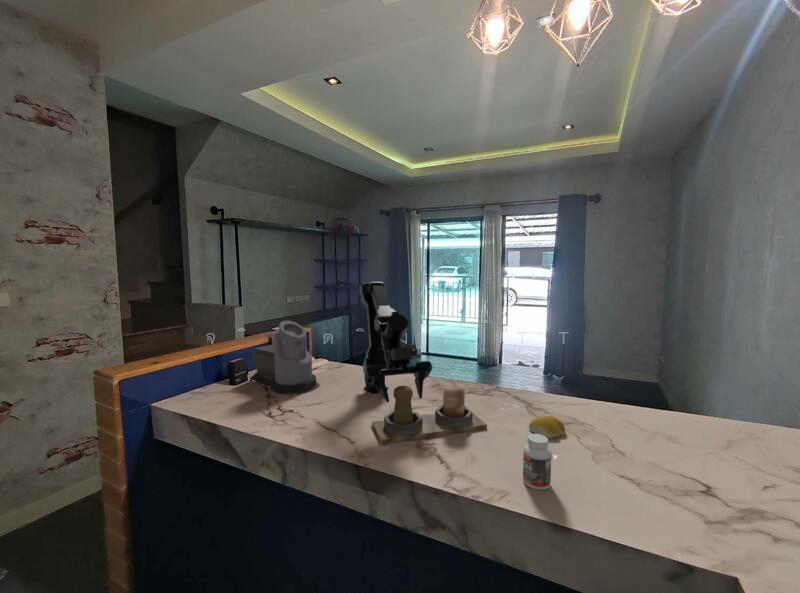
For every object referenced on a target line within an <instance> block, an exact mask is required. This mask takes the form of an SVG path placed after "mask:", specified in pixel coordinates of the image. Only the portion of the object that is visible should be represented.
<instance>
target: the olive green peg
mask: <svg viewBox="0 0 800 593" xmlns="http://www.w3.org/2000/svg"><path fill="white" fill-rule="evenodd" d="M413 394H414V392H413V390H412V388H411V387H410V386H408V385H399V386H396V387H395V388H394V389H393V397H394V398H393V399H395V401H394V408H393V409H394V410H393V411H394V416H393V423H396V424H400V425H404V424H411V423H414V421H413V414H412V412H413V408H412V400H411V399H412V398H413Z"/></svg>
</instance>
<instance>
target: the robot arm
mask: <svg viewBox="0 0 800 593" xmlns="http://www.w3.org/2000/svg"><path fill="white" fill-rule="evenodd" d="M358 292H359V296H361V301H362V303H363V305H364V306H365V307H366V319H367V331H368V332H367V333H368V343H369V346H368V349H367V351H366V352H365V357H364V359H363V360H364V361H363V363H362V372H363V373H364V374H363V376H364V378H363V379H364V383H365V386H364V387H363V390H366V391H368V392H370V393H373V394H376V393H379V394H380V395H381V396H382V398H383V399H384V400H385V402H386V403H389V402H390V398H389V393H388V389H389V387H388V386H386V377H388V376H389V377H390V376H400V375H411V374H413V376H414V377H415V378H414V384H415V387H416V391H417V395H418V398H419V399H420V400H421V399H422V398H423V390H424V389H423V388H424V382H425V380H426V378H428V377H429V376H430V374H431V372H432V370H433V368H434V367H433V365H432V364H433V363H432V362H431V361H429V360H418V361H416V363H415V366H408V365H410V363H411V361H410V360H412V357H414V358H415V357H416V356H418V349H417V345H416V344H414V343H413V344H409V345H407V346H406V347H405V346H404V345H403V343H402V340H403V339H404V338H405V337H404V336H405V334H406V332H407V329H408V326H409V319H407V318H406V317H405V316H404V315H402V314H400V312H399V311H396V310H395V309H394V308H393V307H391V305H390V303H389V300H388V297H387V294H386V292H385V283H384V281H381V280H380V281H370V282H363V283H362V284H360V285H359V291H358ZM403 346H404V347H403Z"/></svg>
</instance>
